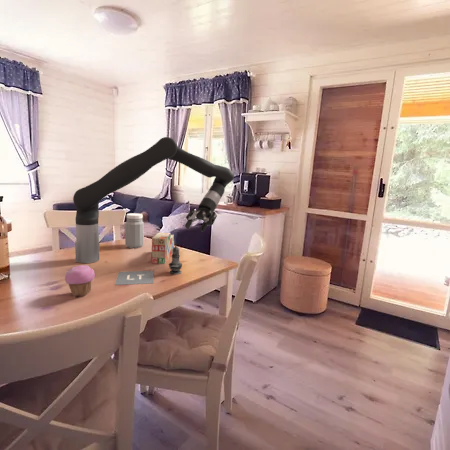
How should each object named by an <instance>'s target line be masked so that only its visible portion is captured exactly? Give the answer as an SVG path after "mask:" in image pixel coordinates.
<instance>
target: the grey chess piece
mask: <svg viewBox="0 0 450 450" xmlns="http://www.w3.org/2000/svg"><path fill="white" fill-rule="evenodd" d="M180 256H181V255H180V248H179V247H177V245H174V248H173V249H172V255H171V262H169V263H168V266H169V271H168V272H169V274H170V275H173V276H174V275H175V276H176V275H177V276H178V275H180V274H182V271H181V269H182V266H183V263H182V262H180Z"/></svg>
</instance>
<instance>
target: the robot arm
mask: <svg viewBox="0 0 450 450" xmlns="http://www.w3.org/2000/svg"><path fill="white" fill-rule="evenodd" d="M165 160H171V161H174V162H177V163H180V164H181V165H184V166H186V167H188V168H189V169H191V170H193V171H195V172H196V173H199V174H201V175H203V176H205V177H206V178H213V177H214V180H213V182H212V184H211V186H210V187H209V189H208V191H207V192H206V193H205V195H204V196H203V198H202V199H201V201H200V203H199V204H198V208H197V209H194V208H191V209H190V210H189V213H188V214H187V215H186V216H185V218H186V223H185V226H184V227H185V229H187V230H189V229H190V227H191V226H192V224H193V222H197V221H204V222H203V223H202V225H201V226H200V228H199V231H200V232H201V233H203V232H205V231H206V230H207V228H208V226H209V225H210V226H213V225H214V223H215V220H216V219H217V216H218V215H217V212H215V211H216V208H217V207H218V205H219V203H220V201H221V199H222V197H223V196H224V193H225V189H226V186H228V185H230V184H231V182H233V180H234V179H235V174H234V172H233V170H232V169H230V168H228V167H226V166H222V165H219V164H215V163H212V162H211V161H209V160H207V159H205V158H203V157H200V156H197V155H196V154H195V155H194V154H193V153H190V152H188V151H186V150H184V149H182V148H181V147H180V146H178V143H177V141H176V140H175V139H173V137H169V136H163V137H161V138H160V139H159V140H158V141H156V142H155V143H154V144H152V145H151V146H150V147H149V148H147V149H146V150H144V151H143V152H141V153H138V154H136V155H134V156H132V157H130V158H128V159H126V160H124V161H123V162H121V163H120V164H118V165H116V166H115V167H113V168H112V169H111V170H109V171H108V172H107V173H106V174H105V175H103V176H102V177H100V178H99V179H98V180H96V181H94V182H92V183H90V184H89V185H87V186H84V187H82V188H79V189H77V190H76V191H75V192H74V194H73V197H72V199H73V204H74V205H75V206H76V209H75V210H76V214H75V215H76V216H75V237H76V240H75V241H74V245H75V247H74V248H75V263H80V264H90V263H91V264H92V263H96V262H99V260H100V238H99V237H100V236H99V235H100V233H99V231H100V230H99V228H100V227H99V218H100V209H99V207H100V205H99V204H100V203H99V202H100V201H102V200H103V199H104V198H105V197H108V195H110V194H112V193H114V192H117V191H120V189H122V188H124V187H126V186H128V185H130V184H131V183H133V182H135V181H136V180H138V179H140V177H142V176H144V175H145V174H146V173H147V172H148V171H149V170H151V169H152V168H153V167H154V166H157V165H159V164H160V163H162V162H164V161H165Z"/></svg>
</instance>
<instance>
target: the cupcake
mask: <svg viewBox="0 0 450 450" xmlns="http://www.w3.org/2000/svg"><path fill="white" fill-rule="evenodd" d="M95 277H96V274H95V270H94V269H93V268H91V267H90V266H89V265H87V264H81V265H76V266H73V267H71V268H70V269H68V270H67V272H66V273H65V276H64V278H65V279H64V280H65V283H66V284H68V287H69V290H70V292H71V294H72V295H73V297H77V296H82V297H84V296H86V295H88V294H89V293H90V291H91V290H92V289H91V288H92V281H93V280H94V279H95Z"/></svg>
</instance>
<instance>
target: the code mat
mask: <svg viewBox="0 0 450 450" xmlns="http://www.w3.org/2000/svg"><path fill="white" fill-rule="evenodd" d="M154 275H155V273H154V270H138V271H136V270H135V271H119V272H118V275H117V277H116V281H115V283H114V285H115V286H123V285H125V286H126V285H147V284H152V285H153V284H155V281H154V280H155V279H154V277H155V276H154Z"/></svg>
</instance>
